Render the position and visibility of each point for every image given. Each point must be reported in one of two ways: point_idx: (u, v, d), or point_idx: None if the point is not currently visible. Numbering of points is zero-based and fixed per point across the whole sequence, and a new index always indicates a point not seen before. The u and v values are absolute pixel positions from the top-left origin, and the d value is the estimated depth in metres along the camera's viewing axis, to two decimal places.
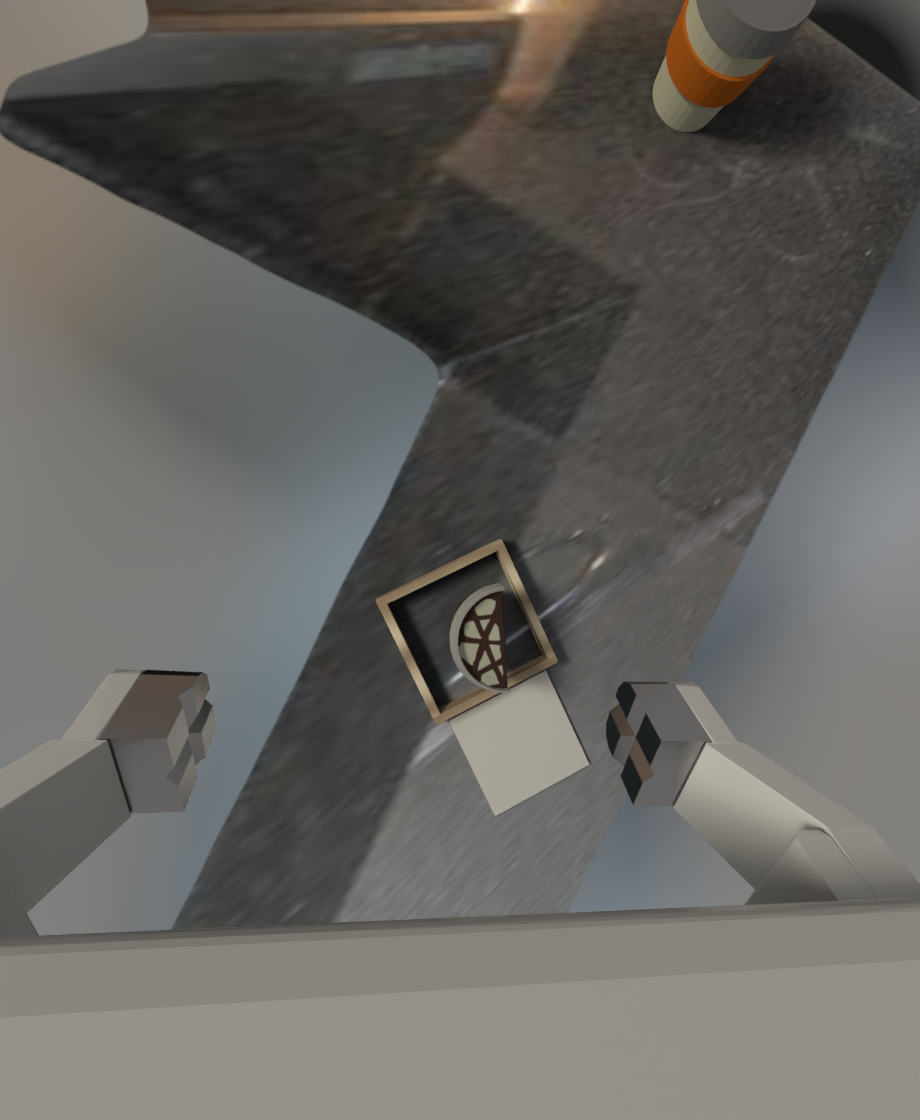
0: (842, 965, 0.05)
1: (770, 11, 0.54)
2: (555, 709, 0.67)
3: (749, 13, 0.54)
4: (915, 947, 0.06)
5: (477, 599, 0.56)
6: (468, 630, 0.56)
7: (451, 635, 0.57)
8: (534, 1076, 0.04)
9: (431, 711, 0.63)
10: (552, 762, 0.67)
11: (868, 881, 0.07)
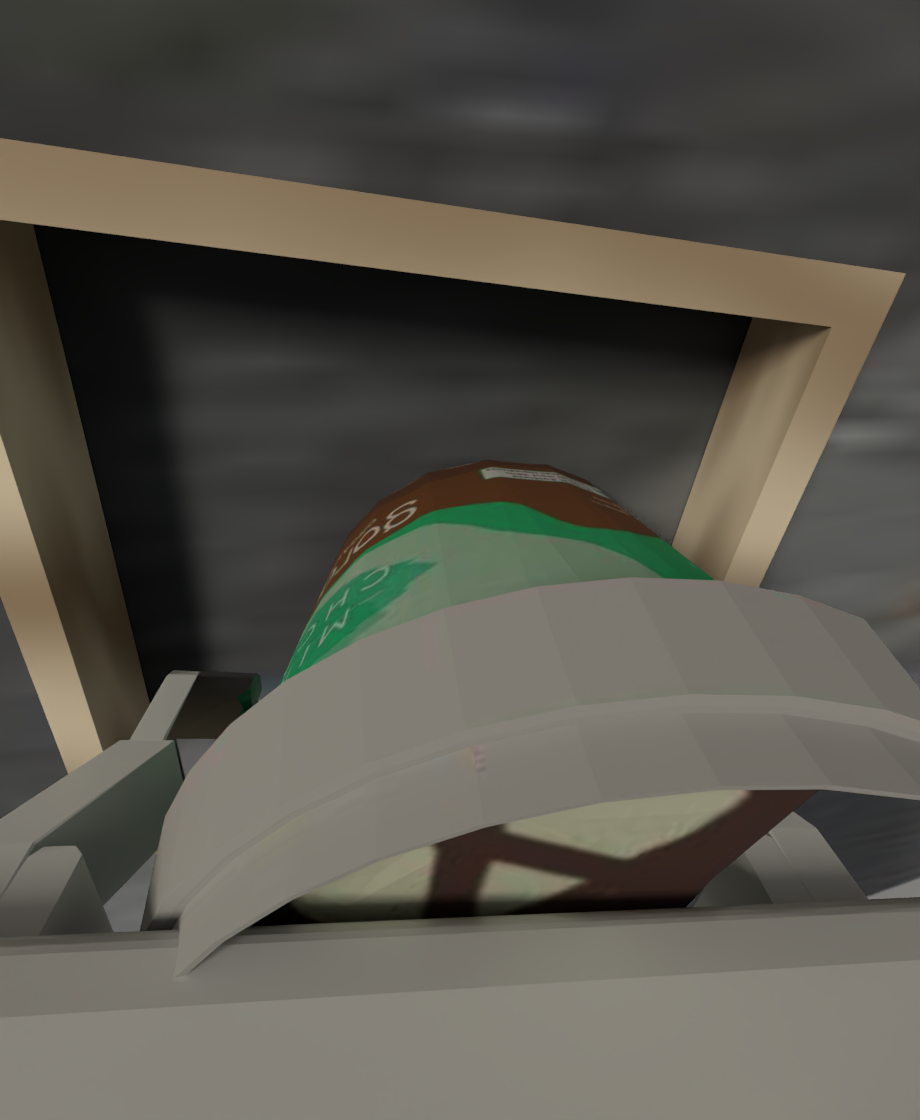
0: (842, 965, 0.05)
1: None
2: None
3: None
4: (915, 947, 0.06)
5: (625, 755, 0.04)
6: (340, 882, 0.06)
7: (178, 820, 0.06)
8: (534, 1076, 0.04)
9: None
10: None
11: (806, 883, 0.07)
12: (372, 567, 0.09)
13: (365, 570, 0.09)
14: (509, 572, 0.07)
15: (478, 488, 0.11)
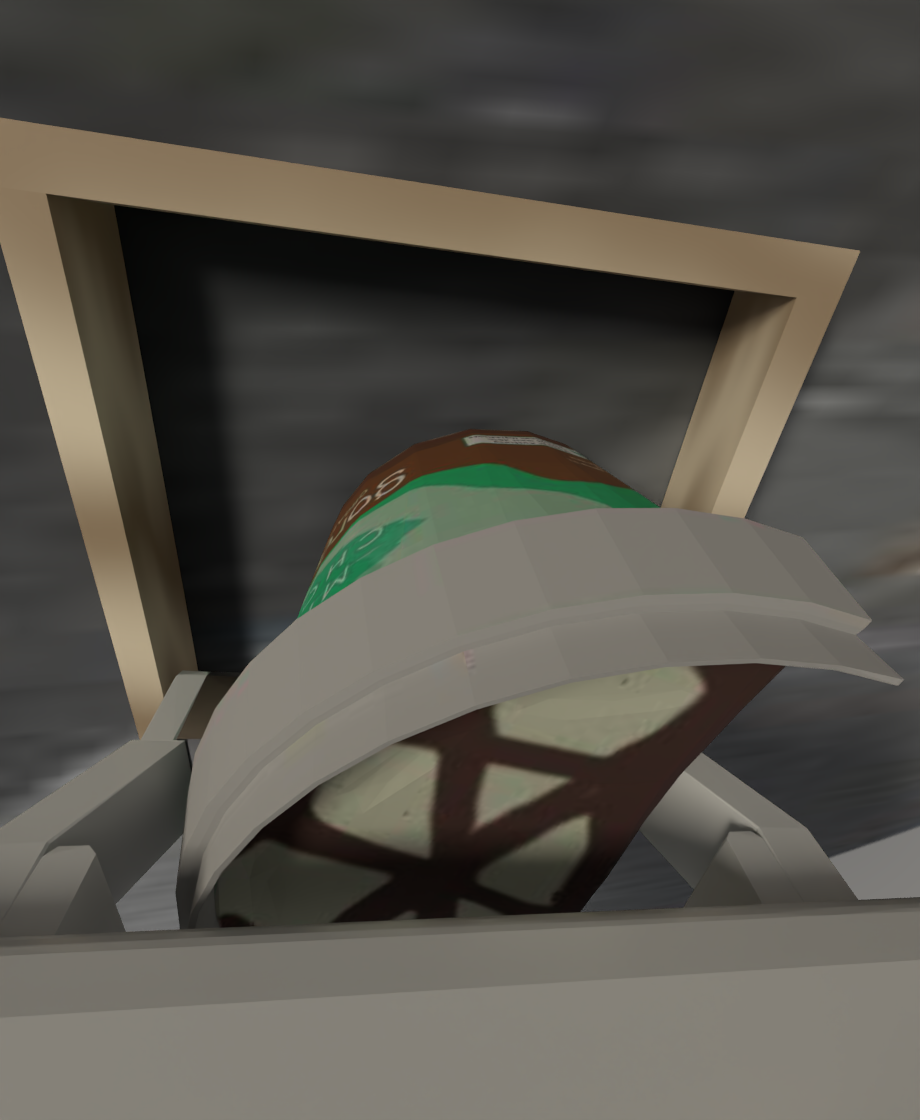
0: (842, 965, 0.05)
1: None
2: None
3: None
4: (915, 947, 0.06)
5: (591, 646, 0.05)
6: (356, 791, 0.06)
7: (209, 749, 0.07)
8: (534, 1076, 0.04)
9: None
10: None
11: (796, 884, 0.07)
12: (367, 529, 0.10)
13: (360, 533, 0.10)
14: (492, 520, 0.08)
15: (461, 453, 0.12)
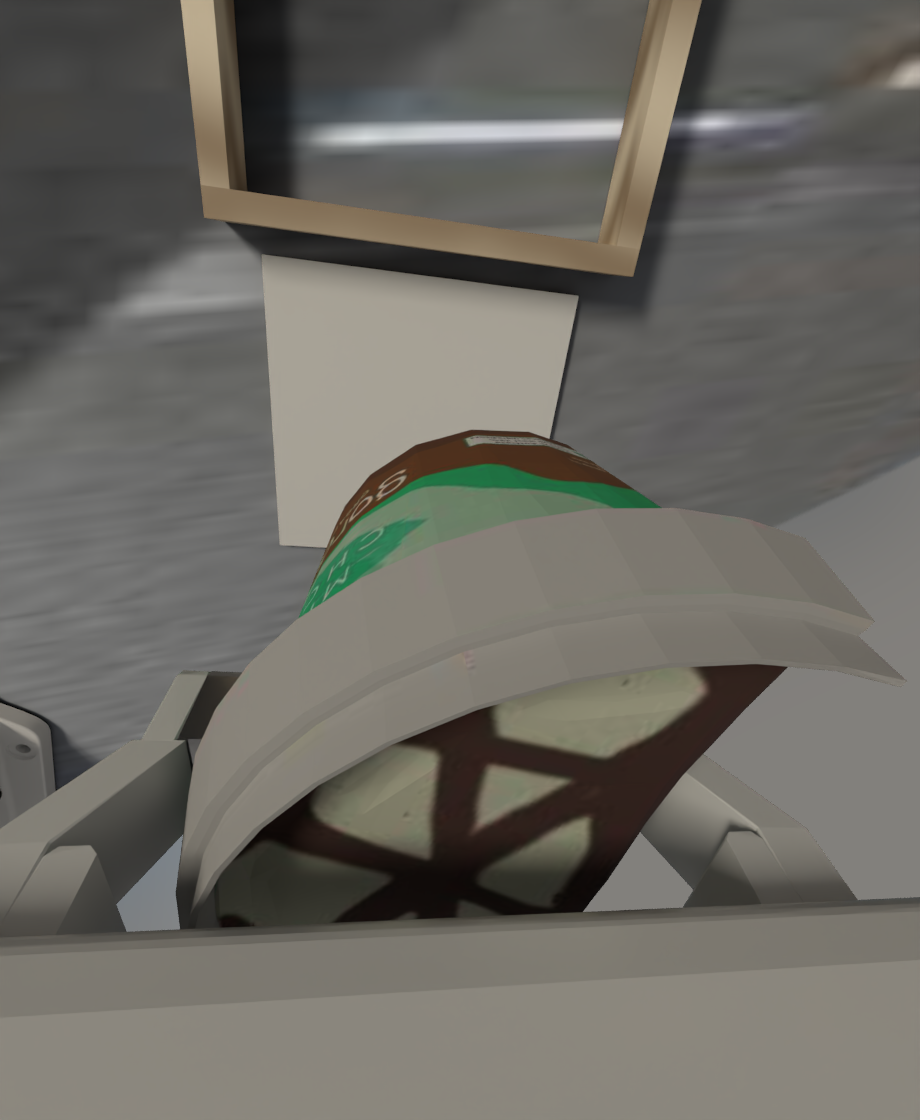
0: (842, 965, 0.05)
1: None
2: (536, 407, 0.26)
3: None
4: (915, 947, 0.06)
5: (591, 646, 0.05)
6: (357, 791, 0.06)
7: (210, 749, 0.07)
8: (534, 1076, 0.04)
9: (203, 157, 0.18)
10: None
11: (795, 884, 0.07)
12: (368, 530, 0.10)
13: (361, 533, 0.10)
14: (493, 520, 0.08)
15: (463, 454, 0.12)
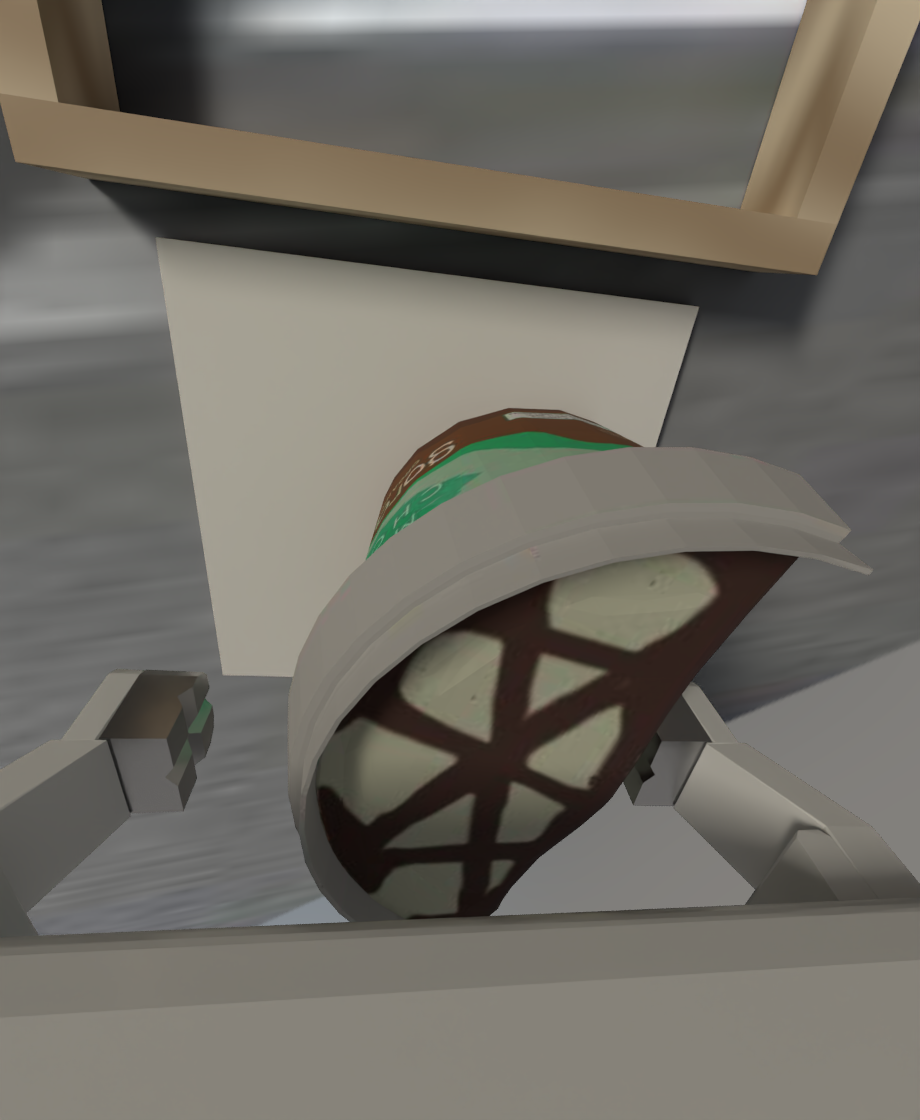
0: (842, 965, 0.05)
1: None
2: None
3: None
4: (915, 947, 0.06)
5: (628, 539, 0.06)
6: (436, 675, 0.08)
7: (318, 643, 0.08)
8: (534, 1076, 0.04)
9: None
10: None
11: (868, 881, 0.07)
12: (426, 487, 0.12)
13: (420, 490, 0.12)
14: None
15: (504, 426, 0.13)
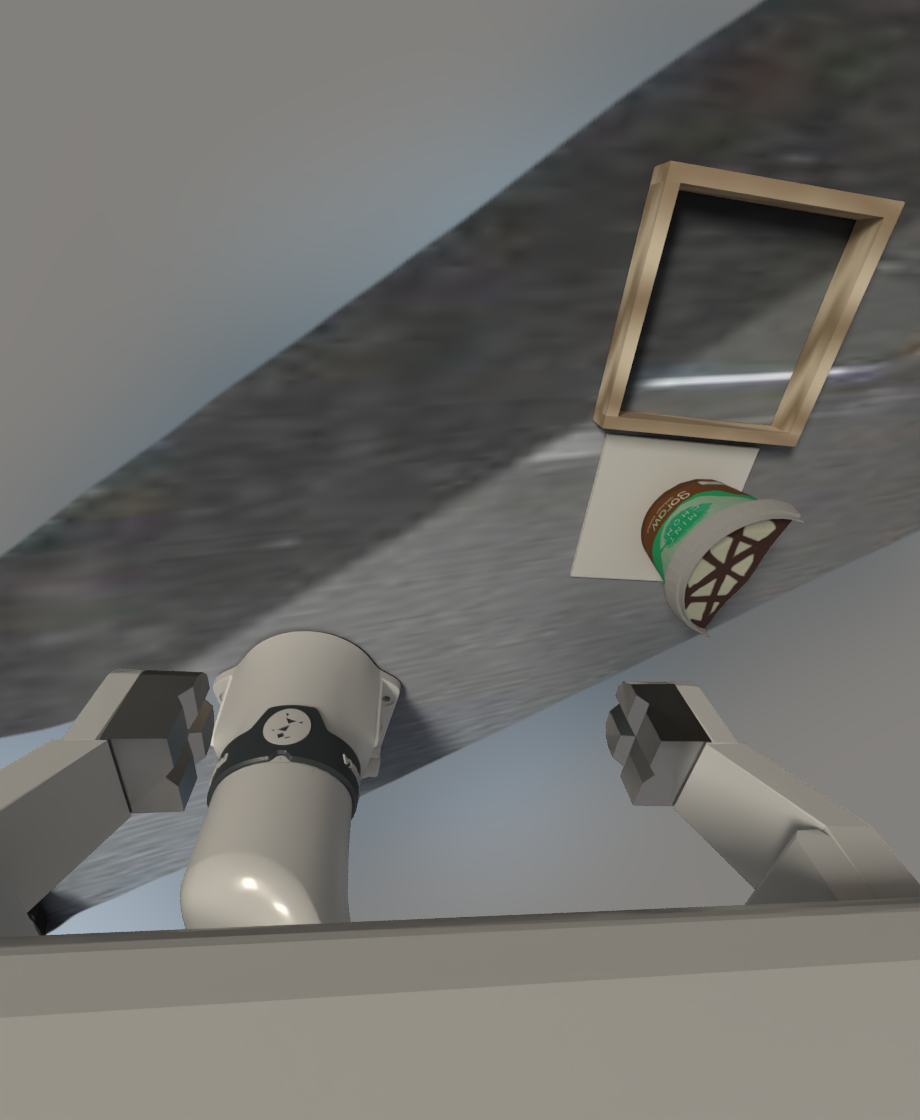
0: (842, 965, 0.05)
1: None
2: None
3: None
4: (915, 947, 0.06)
5: (762, 516, 0.37)
6: (717, 546, 0.39)
7: (691, 540, 0.39)
8: (534, 1076, 0.04)
9: (610, 405, 0.40)
10: None
11: (868, 881, 0.07)
12: (690, 506, 0.42)
13: (688, 507, 0.43)
14: (731, 502, 0.40)
15: (703, 487, 0.44)
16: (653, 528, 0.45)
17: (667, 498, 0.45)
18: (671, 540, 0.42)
